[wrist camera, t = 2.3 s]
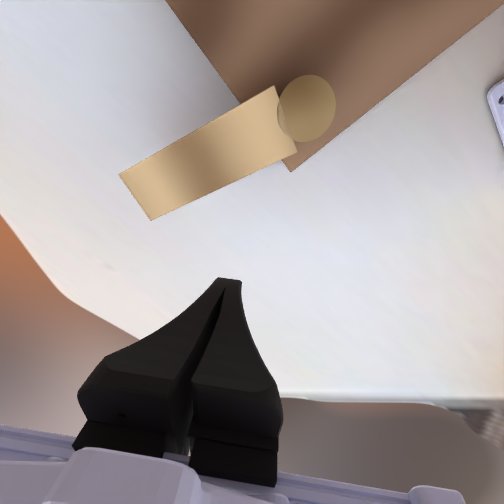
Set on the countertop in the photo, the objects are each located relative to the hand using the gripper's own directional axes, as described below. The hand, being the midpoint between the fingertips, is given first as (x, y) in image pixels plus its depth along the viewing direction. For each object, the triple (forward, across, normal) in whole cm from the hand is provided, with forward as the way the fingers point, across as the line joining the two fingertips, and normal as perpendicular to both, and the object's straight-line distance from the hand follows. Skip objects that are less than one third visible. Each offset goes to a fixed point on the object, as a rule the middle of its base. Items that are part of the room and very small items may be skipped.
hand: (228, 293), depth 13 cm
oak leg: (+7, +1, -7) cm, 10 cm away
